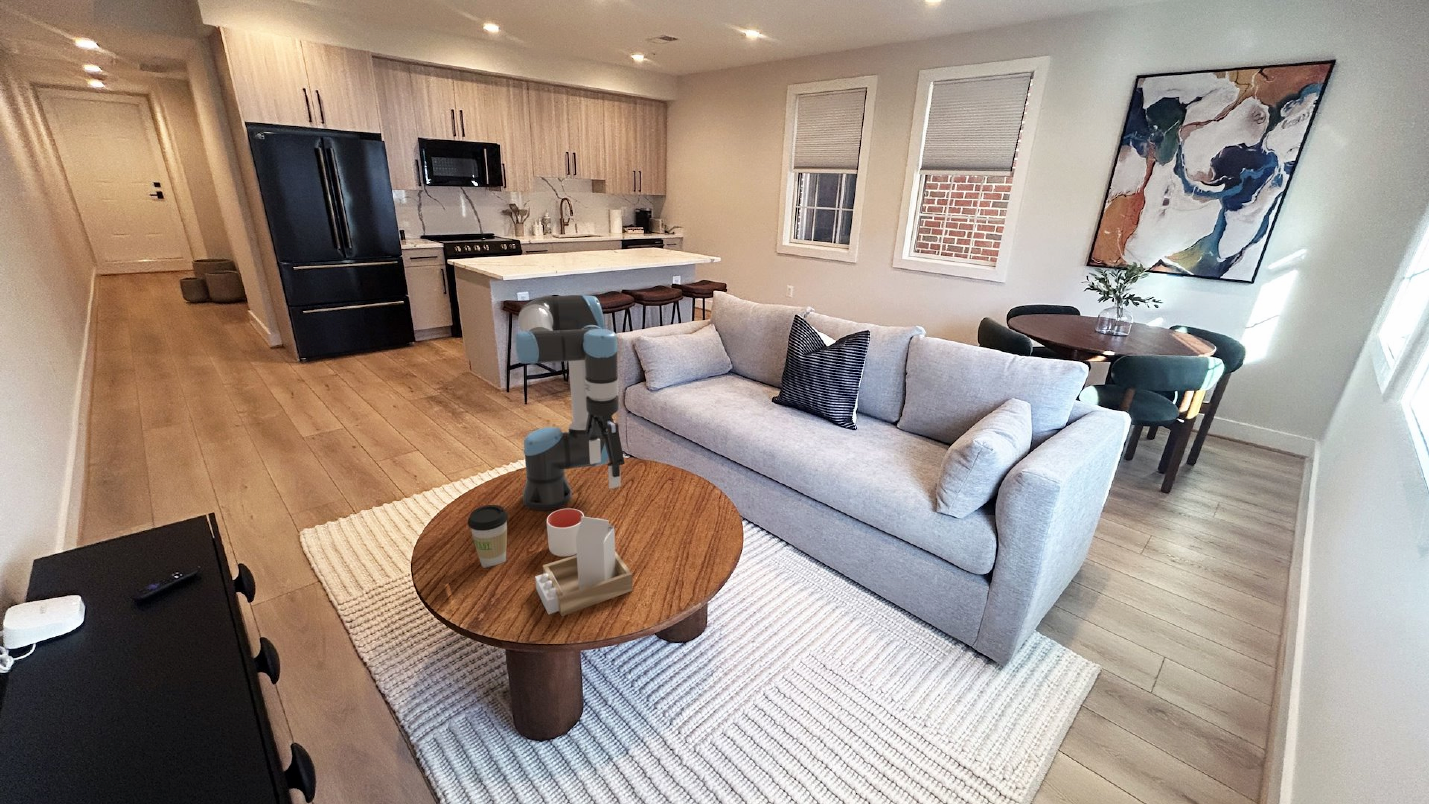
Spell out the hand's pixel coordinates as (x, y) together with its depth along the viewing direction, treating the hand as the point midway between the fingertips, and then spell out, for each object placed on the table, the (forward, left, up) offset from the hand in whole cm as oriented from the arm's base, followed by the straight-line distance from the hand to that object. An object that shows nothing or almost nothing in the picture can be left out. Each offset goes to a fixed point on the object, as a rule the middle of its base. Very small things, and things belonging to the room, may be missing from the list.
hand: (604, 474), depth 138 cm
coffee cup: (-17, -26, -28) cm, 42 cm away
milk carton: (+6, -5, -27) cm, 28 cm away
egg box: (+6, -17, -27) cm, 33 cm away
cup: (-13, -7, -28) cm, 31 cm away
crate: (+6, -8, -28) cm, 30 cm away
